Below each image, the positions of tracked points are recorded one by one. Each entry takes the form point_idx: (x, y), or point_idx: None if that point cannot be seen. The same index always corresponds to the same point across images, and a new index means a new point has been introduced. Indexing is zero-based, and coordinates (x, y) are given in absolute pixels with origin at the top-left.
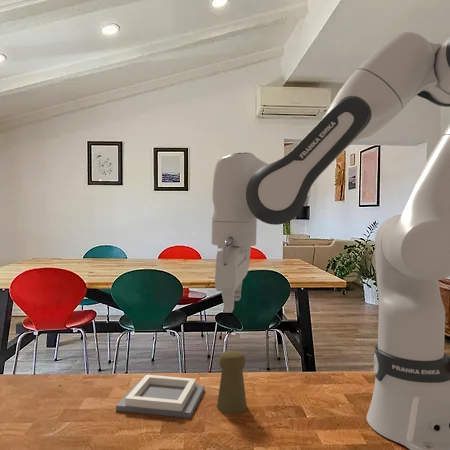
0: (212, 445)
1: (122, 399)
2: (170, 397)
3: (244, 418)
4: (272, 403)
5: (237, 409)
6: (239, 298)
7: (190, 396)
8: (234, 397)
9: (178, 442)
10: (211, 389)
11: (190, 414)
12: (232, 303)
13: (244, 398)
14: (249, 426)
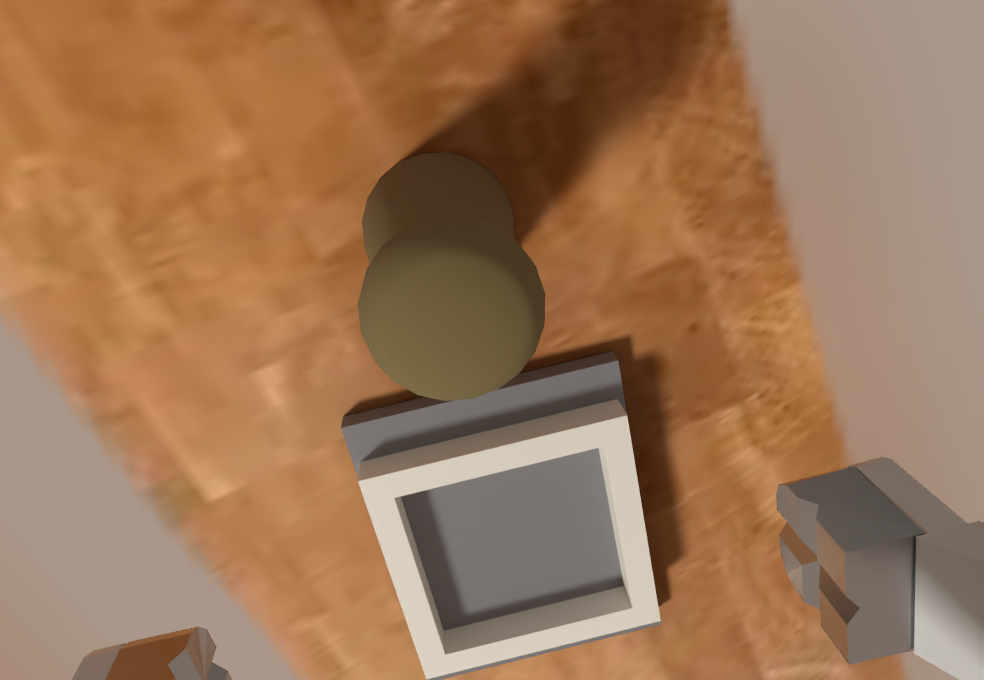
0: (775, 177)
1: (609, 634)
2: (521, 497)
3: (523, 127)
4: (304, 32)
5: (495, 181)
6: (191, 643)
7: (477, 430)
8: (504, 210)
9: (788, 307)
10: (316, 391)
11: (614, 358)
12: (962, 524)
13: (442, 169)
14: (584, 78)
